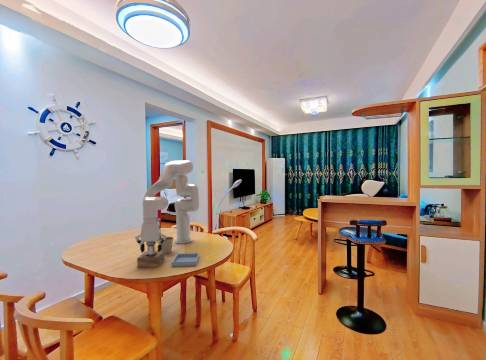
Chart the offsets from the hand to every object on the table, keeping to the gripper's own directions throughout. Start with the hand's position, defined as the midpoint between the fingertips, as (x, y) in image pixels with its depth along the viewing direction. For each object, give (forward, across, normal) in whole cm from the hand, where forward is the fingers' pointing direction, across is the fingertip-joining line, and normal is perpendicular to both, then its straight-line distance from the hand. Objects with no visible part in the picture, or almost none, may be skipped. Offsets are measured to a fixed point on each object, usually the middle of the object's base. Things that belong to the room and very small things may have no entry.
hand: (151, 251), depth 127 cm
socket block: (+7, 0, 0) cm, 7 cm away
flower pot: (+7, -3, -18) cm, 20 cm away
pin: (+7, 0, 0) cm, 7 cm away
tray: (+7, -19, -1) cm, 20 cm away
